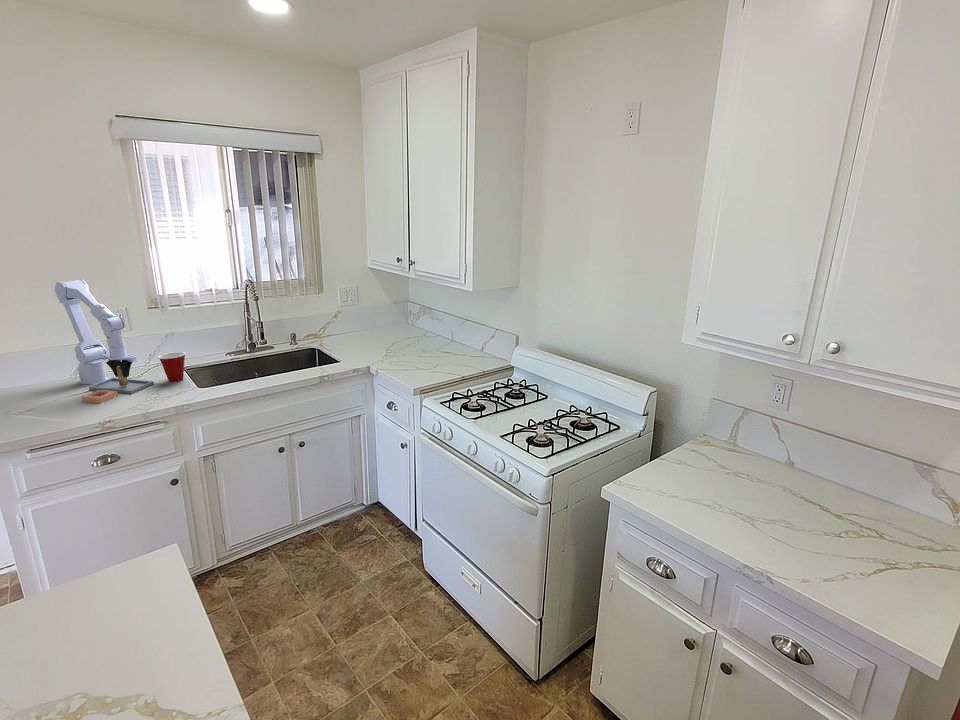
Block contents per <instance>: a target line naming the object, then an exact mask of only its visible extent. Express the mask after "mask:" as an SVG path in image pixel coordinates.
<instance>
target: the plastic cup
mask: <svg viewBox="0 0 960 720" xmlns="http://www.w3.org/2000/svg"><path fill="white" fill-rule="evenodd" d="M186 356H187V355H186V352H184V351H178V352H177V351H175V352H168V353H163V354H160V355H158V356H157V358H158V359H159V361H160V363H161V365H162V368H163V371H164V373H165V376H166V377H167V381H168V382H170V383H177V382H180V381H183V380H184V373H185V359H186Z"/></svg>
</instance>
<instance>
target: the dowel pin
mask: <svg viewBox="0 0 960 720" xmlns="http://www.w3.org/2000/svg"><path fill="white" fill-rule="evenodd" d="M116 369H117V374H118V377H117V378H118V379H119V384H120V386H125V385H128V381H127V379H128V377H126V378H124V377H123V374H122V370H121V368H120V366H117V367H116Z"/></svg>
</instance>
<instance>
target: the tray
mask: <svg viewBox="0 0 960 720" xmlns="http://www.w3.org/2000/svg"><path fill="white" fill-rule="evenodd" d="M109 378H110V379H108V380H105V381H103V382H100V383H98V384H92V385H90V386H89V387H88V389H89V391H94V392H95V391H97V390H109V391H117V393H118V394H126V395H133V394H136V393H137V392H140V391H143V390H145V389H146V388H149V387H151V386H154V385H155V382H154V381H153V380H143V379H133V378H127V381H128V385H125V386H120V384H119V379H118V377H109Z"/></svg>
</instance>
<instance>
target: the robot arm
mask: <svg viewBox="0 0 960 720" xmlns="http://www.w3.org/2000/svg"><path fill="white" fill-rule="evenodd" d="M54 292H55V294H56V297H57V300H58V302H59V303H60V304H63V307H64V309H65V312H66V314H67V316H68V318H69V321H70V322H71V325H72V328H73V329H74V332H75V335H76V337H77V341H78V343H77V344H76V346H75V347H74V352H75V357H76V359H77V362H79V364H78V366H77V371H78V376H79V380H80V381H79V382H78V384H82V385H95V384H98V383H100V382H103V381H105V380H108V379H110V378H111V377H108V375H107V369H106V366H105V363H106V365H107V366H108V367H109V368H110V370H111V371H112V373H113V374H114V376H115V378H118V374H117V369H116V367H117V366H120V368H121V370H122V374H123V377H124V378H126V377H127V378H129V377H130V371H131V367H132V364H133V363H134V362H137V356H135V355H130V354H128V353H127V350H126V344H125V338H124V334H123V330H124V329H125V320H124V319H123V318H122V316H120V315H117V314H114V313H113V312H112V311H111V310H110V309H109V308H108V307H107V306H106V305H105V304H103V303H99V302H98V301H97V300H96V298H95V297H94V296H93V294H92V293H91V292H90V287H89V284H87V282H86V281H85V280H84V279H76V280H67V281H66V280H65V281H58V282H56V283H55V285H54ZM80 302H82V303H83V304H84V305H85V306H86V307H88V308H89V310H90V314H91V315H92V316H93V317H94V318H95V319H96V320H97V322H99V323H100V328H101V330H102V331H103V334H104V336H105V337H106V342H107V343H106V344H107V347H108V349H107V348H106V347H105V346H104V344H103V342H102V341H101V340H98V339H95V338H94V336H93V334H92V331H91V328H90V326H89V324H88V322H87V319H86V317H85V314H84V312H83V310H82V308H81V305H80ZM107 350H108V351H107ZM108 352H109V353H108ZM106 360H108V361H106ZM105 361H106V362H105Z"/></svg>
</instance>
